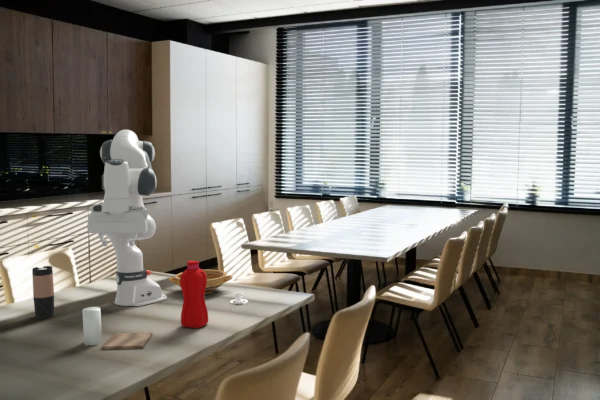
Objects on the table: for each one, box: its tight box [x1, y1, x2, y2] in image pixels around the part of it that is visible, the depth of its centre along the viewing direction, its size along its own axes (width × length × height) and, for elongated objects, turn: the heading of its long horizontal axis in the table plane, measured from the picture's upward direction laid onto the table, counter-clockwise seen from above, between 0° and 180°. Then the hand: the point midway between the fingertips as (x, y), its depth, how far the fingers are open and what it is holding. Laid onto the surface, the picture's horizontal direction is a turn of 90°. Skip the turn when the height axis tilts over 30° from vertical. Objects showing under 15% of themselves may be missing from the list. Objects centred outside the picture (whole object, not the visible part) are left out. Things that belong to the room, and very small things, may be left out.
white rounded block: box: [81, 306, 103, 347], centre depth 207 cm, size 6×6×12 cm
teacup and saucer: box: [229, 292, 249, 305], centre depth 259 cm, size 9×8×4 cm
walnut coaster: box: [101, 332, 153, 350], centre depth 208 cm, size 14×14×1 cm
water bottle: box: [179, 260, 209, 329], centre depth 226 cm, size 9×11×25 cm
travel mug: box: [31, 265, 55, 320], centre depth 240 cm, size 8×8×20 cm
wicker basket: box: [168, 269, 233, 295], centre depth 278 cm, size 30×24×8 cm
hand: (118, 245), depth 206 cm, fingers open, 8 cm apart
